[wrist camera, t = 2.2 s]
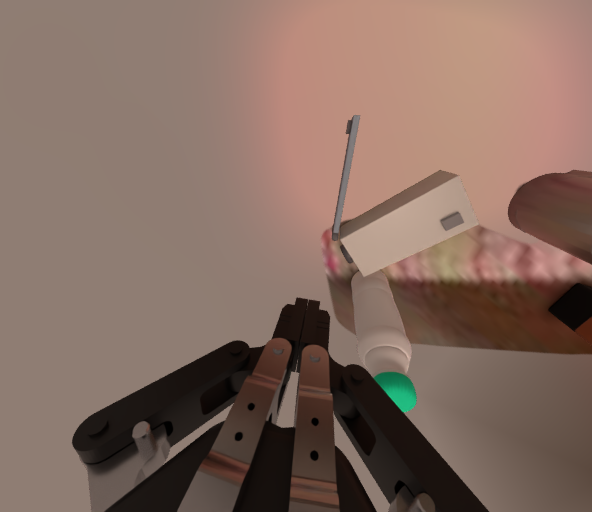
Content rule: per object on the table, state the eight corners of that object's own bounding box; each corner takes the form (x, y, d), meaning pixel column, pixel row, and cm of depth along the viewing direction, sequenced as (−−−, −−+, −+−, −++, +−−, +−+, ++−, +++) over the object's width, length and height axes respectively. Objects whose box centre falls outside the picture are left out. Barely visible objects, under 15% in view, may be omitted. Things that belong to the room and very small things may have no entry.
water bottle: (387, 265, 45) (435, 384, 23) (386, 295, 48) (426, 426, 26) (350, 266, 47) (361, 379, 25) (351, 295, 50) (361, 419, 28)
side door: (348, 118, 36) (349, 114, 30) (357, 119, 36) (361, 115, 30) (329, 227, 44) (328, 239, 38) (337, 228, 44) (337, 241, 38)
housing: (440, 170, 37) (461, 176, 30) (458, 212, 39) (482, 226, 33) (334, 230, 44) (333, 245, 37) (355, 262, 46) (357, 282, 40)
